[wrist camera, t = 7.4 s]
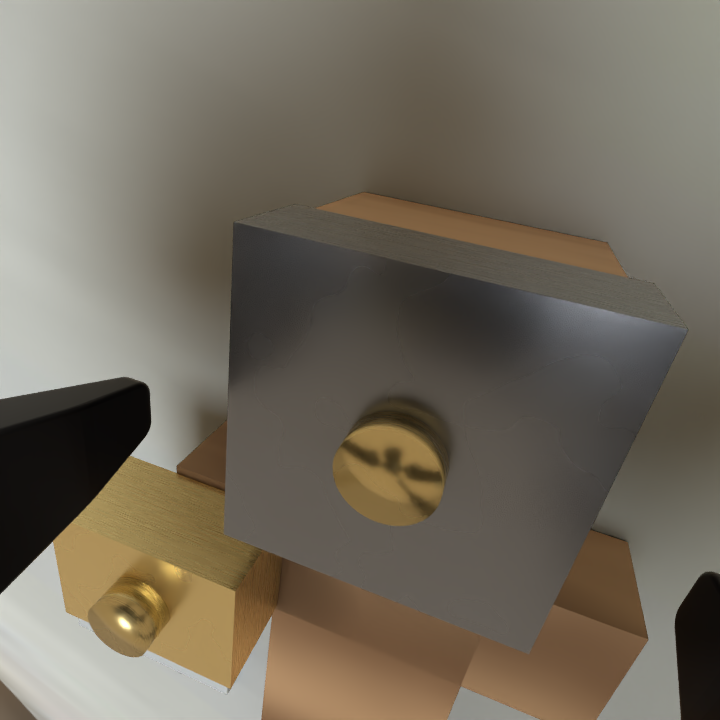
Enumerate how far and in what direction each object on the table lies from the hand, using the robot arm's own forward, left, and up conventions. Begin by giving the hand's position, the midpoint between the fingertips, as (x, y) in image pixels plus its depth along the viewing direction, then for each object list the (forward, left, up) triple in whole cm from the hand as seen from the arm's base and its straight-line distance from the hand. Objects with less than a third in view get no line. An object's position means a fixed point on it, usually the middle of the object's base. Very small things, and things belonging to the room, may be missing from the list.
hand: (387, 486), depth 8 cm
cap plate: (0, 0, -3) cm, 3 cm away
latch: (-6, +5, -3) cm, 8 cm away
